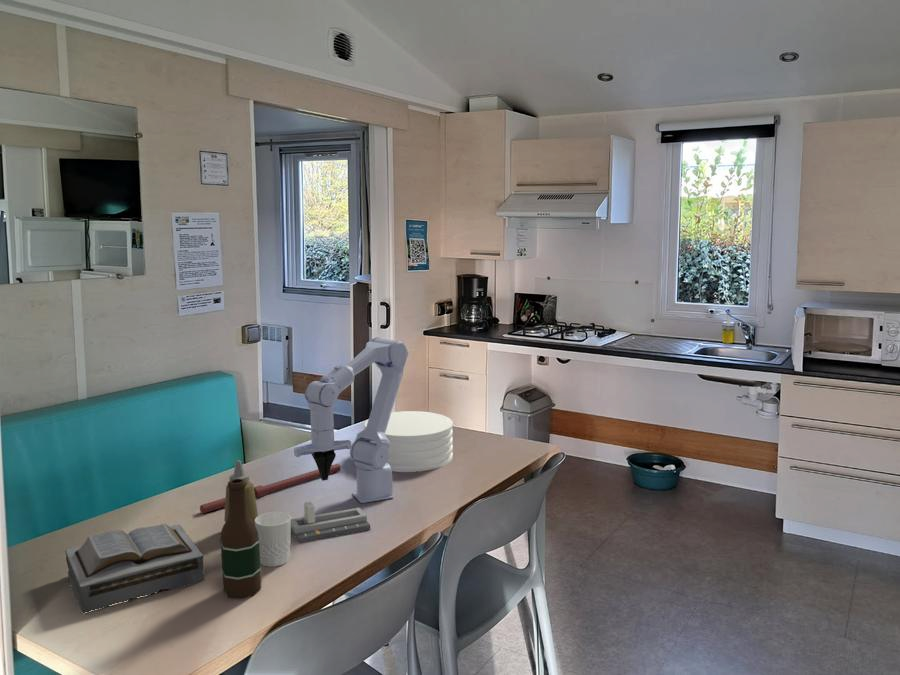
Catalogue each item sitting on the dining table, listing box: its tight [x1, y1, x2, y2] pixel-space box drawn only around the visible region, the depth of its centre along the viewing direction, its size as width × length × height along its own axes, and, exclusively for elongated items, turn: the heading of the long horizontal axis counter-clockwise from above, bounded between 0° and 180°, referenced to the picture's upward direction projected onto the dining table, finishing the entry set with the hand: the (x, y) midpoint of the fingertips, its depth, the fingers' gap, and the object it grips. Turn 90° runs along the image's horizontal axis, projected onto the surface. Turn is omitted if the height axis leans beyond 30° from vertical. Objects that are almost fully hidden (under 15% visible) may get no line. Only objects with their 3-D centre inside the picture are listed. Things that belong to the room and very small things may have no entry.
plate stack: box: [363, 410, 454, 473], centre depth 240 cm, size 28×28×12 cm
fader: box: [302, 501, 317, 525], centre depth 185 cm, size 3×4×6 cm
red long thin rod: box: [199, 463, 342, 514], centre depth 212 cm, size 45×3×3 cm, turn 136°
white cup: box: [255, 511, 292, 568], centre depth 170 cm, size 8×8×10 cm
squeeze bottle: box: [224, 460, 259, 524], centre depth 184 cm, size 8×8×18 cm
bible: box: [64, 523, 205, 614], centre depth 161 cm, size 23×27×10 cm
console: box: [291, 507, 371, 543], centre depth 188 cm, size 18×11×3 cm, turn 115°
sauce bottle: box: [220, 479, 262, 600], centre depth 155 cm, size 8×8×24 cm
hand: (324, 479), depth 194 cm, fingers closed
